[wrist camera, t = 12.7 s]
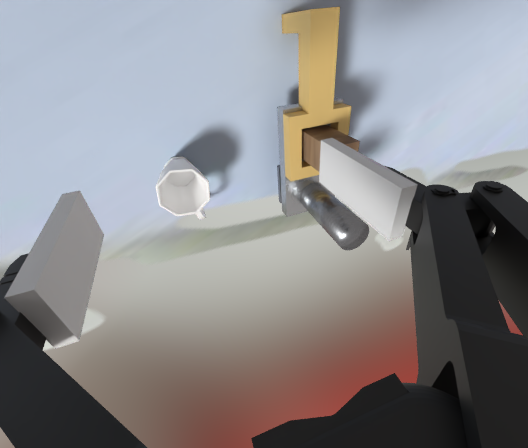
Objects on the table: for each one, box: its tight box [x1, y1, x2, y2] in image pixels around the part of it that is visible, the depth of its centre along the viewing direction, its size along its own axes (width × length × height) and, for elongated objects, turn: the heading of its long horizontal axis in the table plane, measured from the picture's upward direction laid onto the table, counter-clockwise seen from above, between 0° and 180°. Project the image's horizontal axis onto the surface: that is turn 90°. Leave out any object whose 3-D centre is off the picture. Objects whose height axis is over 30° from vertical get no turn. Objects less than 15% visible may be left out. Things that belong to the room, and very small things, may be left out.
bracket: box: [282, 7, 351, 181], centre depth 38 cm, size 20×9×8 cm, turn 5°
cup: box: [156, 157, 210, 220], centre depth 39 cm, size 7×10×8 cm
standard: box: [277, 97, 369, 250], centre depth 39 cm, size 18×9×18 cm, turn 5°
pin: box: [302, 125, 360, 172], centre depth 38 cm, size 4×4×14 cm
